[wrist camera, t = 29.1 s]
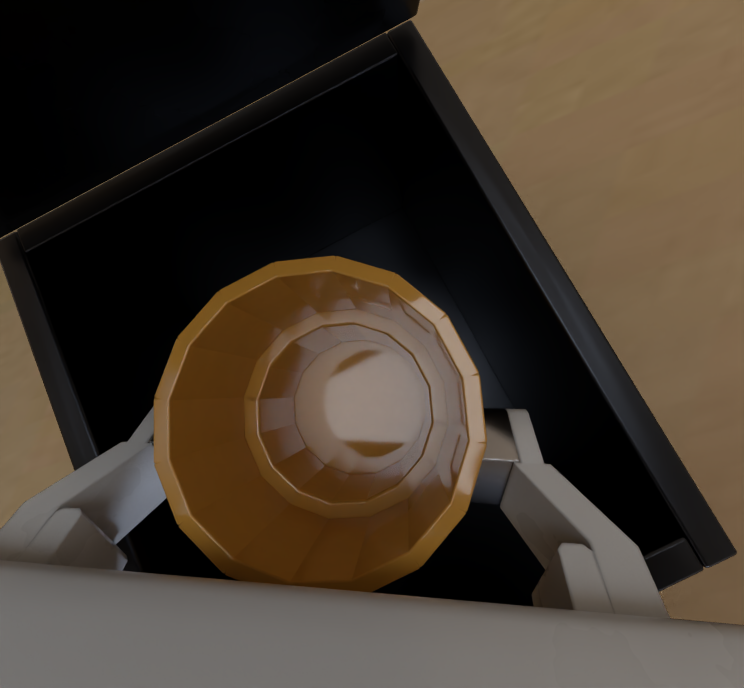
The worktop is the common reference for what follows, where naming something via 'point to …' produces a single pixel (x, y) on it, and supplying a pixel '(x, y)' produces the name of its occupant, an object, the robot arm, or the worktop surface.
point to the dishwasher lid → (147, 79)
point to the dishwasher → (365, 245)
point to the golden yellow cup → (319, 426)
